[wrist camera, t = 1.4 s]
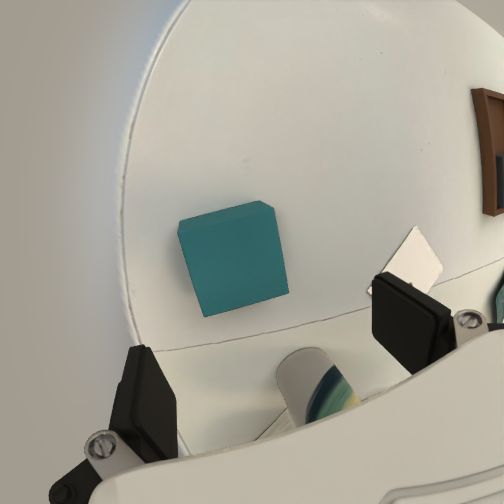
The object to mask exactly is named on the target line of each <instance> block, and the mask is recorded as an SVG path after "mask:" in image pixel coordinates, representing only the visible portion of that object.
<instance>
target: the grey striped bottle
mask: <svg viewBox="0 0 504 504" xmlns="http://www.w3.org/2000/svg"><path fill="white" fill-rule="evenodd" d="M277 382H278V385H279V388H280V390H281V393H282V395H283V397H284V400H285V402H286V404H287V406H288V409H289V411H290V413H291V416H292V418H293V420H294V422H295V425H296V427H297V428H298V427H301V426H304V425H306V424H309V423H312V422H314V421H317V420H320V419H322V418H325V417H327V416H330V415H332V414H335V413H337V412H339V411H342V410H344V409H346V408H349V407H351V406H353V405H355V404H358V403H360V402H361V401H360V399H359V398H358V396H357V395H356V394H355V392H354V391H353V389H352V388H351V387H350V385H349V384H348V382H347V381H346V380H345V378H344V377H343V375H342V374H341V373H340V371H339V370H338V369H337V367H336V366H335V364H334V363H333V362H332V360H331V359H330V358H329V357H328V355H327V354H326V353H325V352H323V351H322V350H320V349H316V348H306V349H301V350H299V351H296V352H294V353H292V354H291V355H289V356H288V357H287V358H286V359H285V360H284V361H283V362H282V363H281V364H280V366H279V368H278V370H277Z"/></svg>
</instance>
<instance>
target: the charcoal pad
mask: <svg viewBox="0 0 504 504" xmlns="http://www.w3.org/2000/svg"><path fill="white" fill-rule="evenodd" d="M495 155H496V170H497V207H500V208H503V209H504V154H495Z"/></svg>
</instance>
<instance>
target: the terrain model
mask: <svg viewBox="0 0 504 504" xmlns="http://www.w3.org/2000/svg"><path fill="white" fill-rule="evenodd" d="M496 307H497V323H502V322H503V319H504V284H503V286H502V288H501V289H500V291H499V293H498V295H497V298H496Z"/></svg>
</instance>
